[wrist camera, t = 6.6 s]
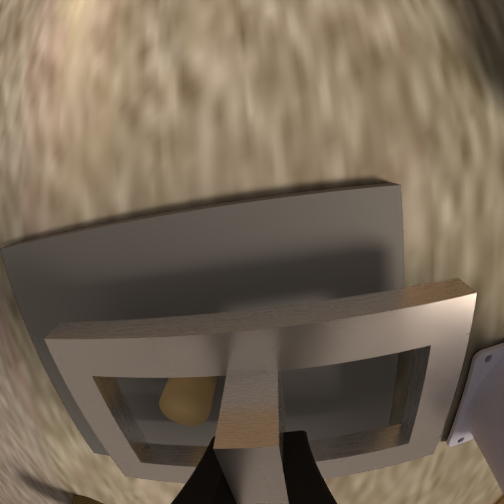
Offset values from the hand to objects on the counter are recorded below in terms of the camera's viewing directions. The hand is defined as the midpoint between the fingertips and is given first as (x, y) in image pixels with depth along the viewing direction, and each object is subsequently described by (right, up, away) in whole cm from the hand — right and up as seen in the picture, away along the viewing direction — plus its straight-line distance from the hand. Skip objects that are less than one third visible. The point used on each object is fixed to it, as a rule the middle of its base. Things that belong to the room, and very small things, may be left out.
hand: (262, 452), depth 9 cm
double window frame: (0, +1, +2) cm, 2 cm away
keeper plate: (-3, +1, +6) cm, 6 cm away
